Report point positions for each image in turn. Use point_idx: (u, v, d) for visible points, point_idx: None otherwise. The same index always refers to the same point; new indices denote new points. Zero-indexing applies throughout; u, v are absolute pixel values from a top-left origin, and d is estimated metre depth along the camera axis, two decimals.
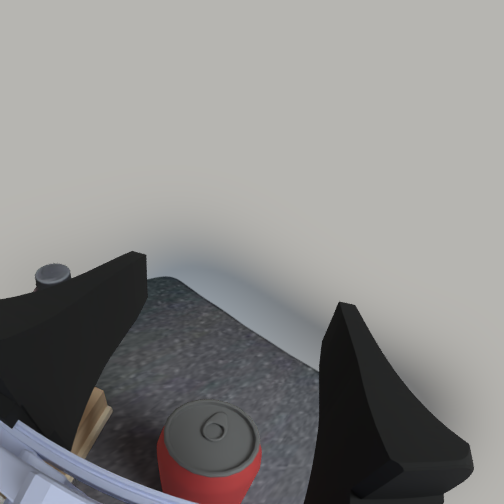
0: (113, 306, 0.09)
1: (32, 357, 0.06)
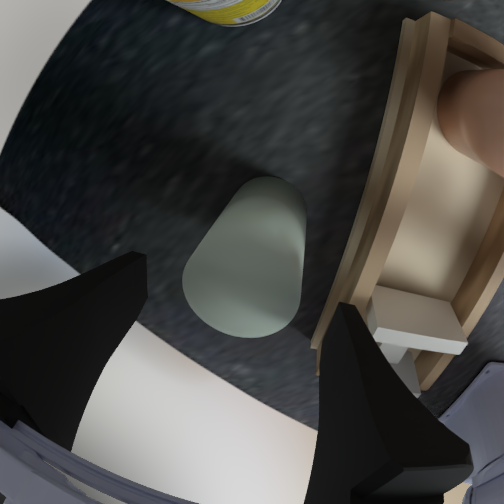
0: (113, 307, 0.09)
1: (32, 357, 0.06)
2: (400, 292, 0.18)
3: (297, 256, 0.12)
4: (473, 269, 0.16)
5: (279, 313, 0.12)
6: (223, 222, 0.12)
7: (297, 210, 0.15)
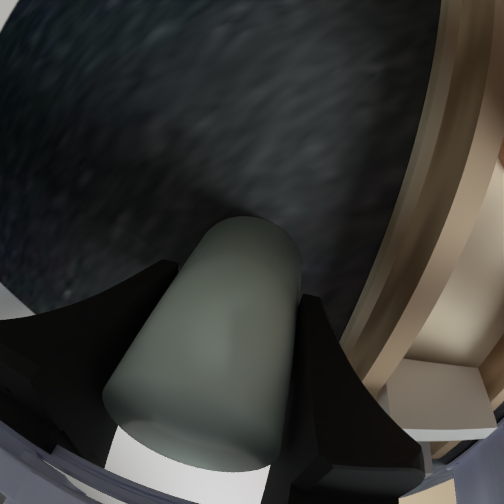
0: (147, 318, 0.09)
1: (73, 379, 0.05)
2: (421, 364, 0.13)
3: (278, 383, 0.07)
4: None
5: (248, 458, 0.07)
6: (158, 323, 0.07)
7: (286, 278, 0.10)
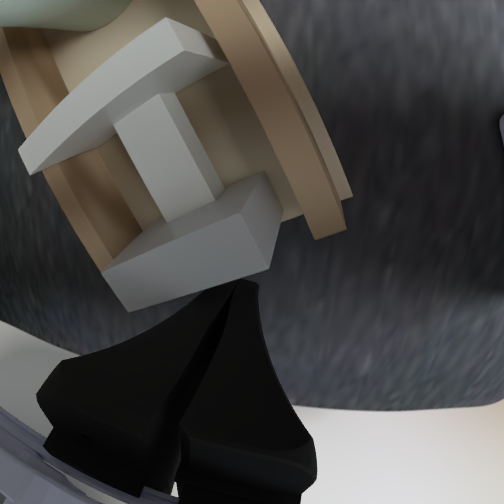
0: (215, 338, 0.09)
1: (169, 418, 0.05)
2: None
3: None
4: None
5: None
6: None
7: None
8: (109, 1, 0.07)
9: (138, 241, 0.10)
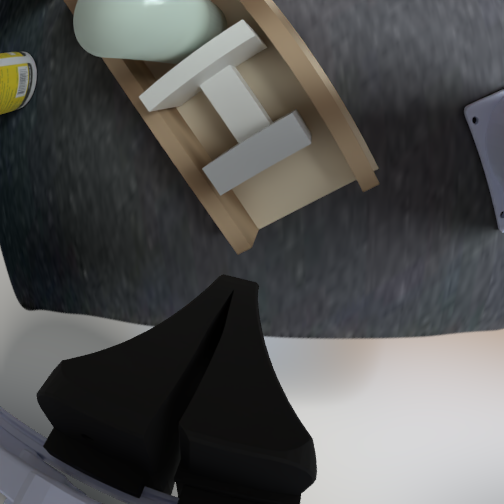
0: (216, 338, 0.09)
1: (169, 418, 0.05)
2: None
3: None
4: None
5: None
6: None
7: None
8: None
9: (221, 154, 0.16)
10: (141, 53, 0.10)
